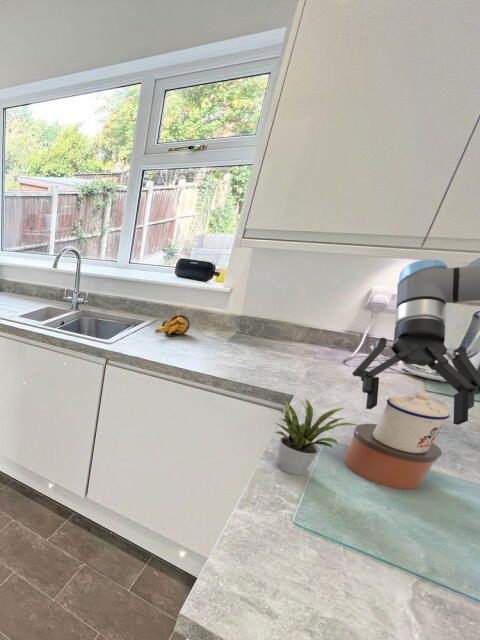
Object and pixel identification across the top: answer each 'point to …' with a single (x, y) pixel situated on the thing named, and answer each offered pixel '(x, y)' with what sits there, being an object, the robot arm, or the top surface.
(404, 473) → the storage jar
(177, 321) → the fried shrimp in bowl
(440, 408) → the teacup with lid
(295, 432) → the house plant
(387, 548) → the top surface
